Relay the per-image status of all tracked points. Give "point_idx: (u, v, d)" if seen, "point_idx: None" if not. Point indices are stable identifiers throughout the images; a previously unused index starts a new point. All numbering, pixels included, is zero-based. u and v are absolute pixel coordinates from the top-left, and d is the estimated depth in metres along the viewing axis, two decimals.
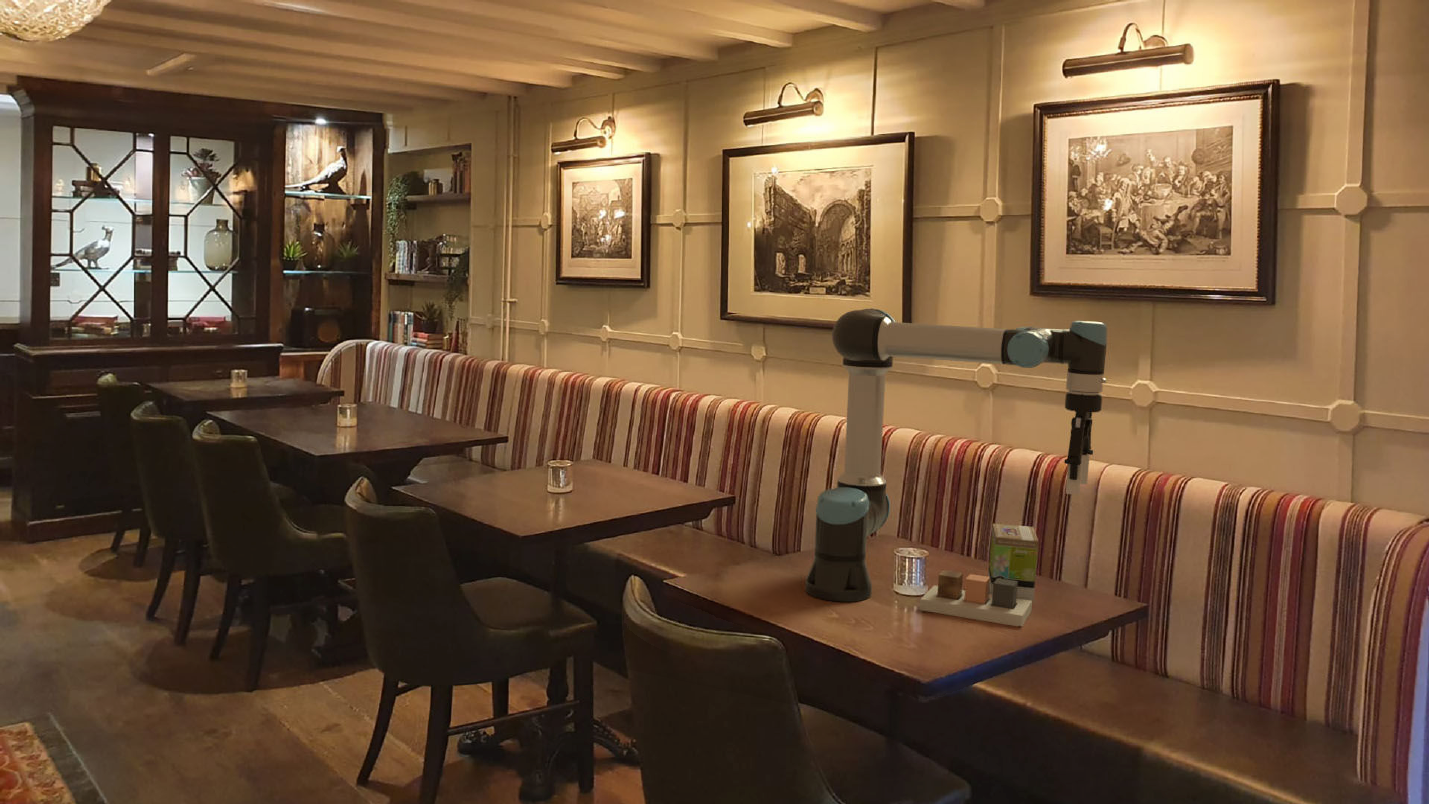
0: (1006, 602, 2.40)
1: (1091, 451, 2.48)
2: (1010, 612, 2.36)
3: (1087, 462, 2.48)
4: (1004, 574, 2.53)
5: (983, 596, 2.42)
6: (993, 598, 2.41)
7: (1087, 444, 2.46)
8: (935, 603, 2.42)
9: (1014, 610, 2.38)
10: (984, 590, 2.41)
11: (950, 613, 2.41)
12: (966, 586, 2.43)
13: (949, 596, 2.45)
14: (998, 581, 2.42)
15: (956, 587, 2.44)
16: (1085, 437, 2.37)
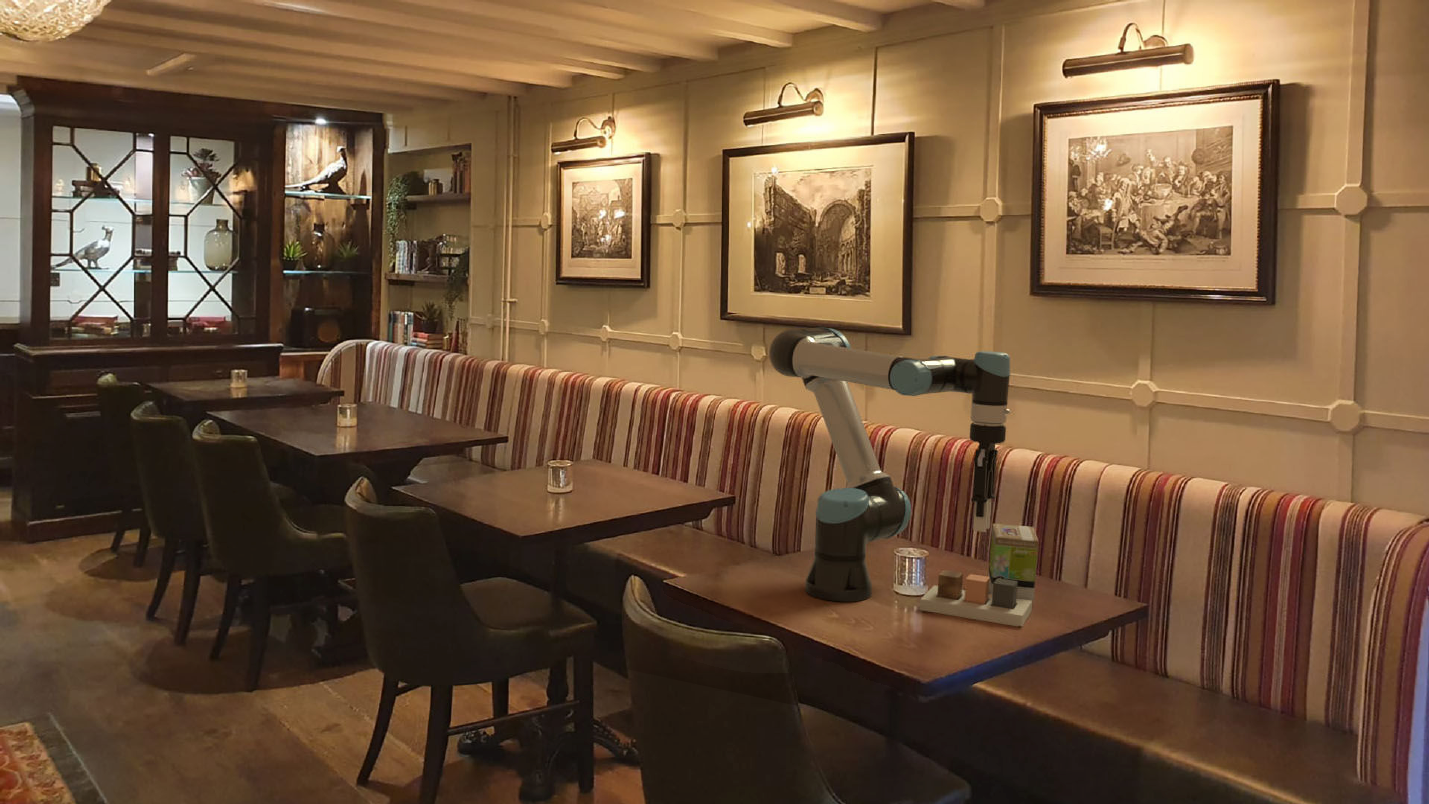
0: (1006, 602, 2.40)
1: (993, 495, 2.44)
2: (1010, 612, 2.36)
3: (989, 506, 2.43)
4: (1004, 574, 2.53)
5: (983, 596, 2.42)
6: (993, 598, 2.41)
7: (990, 482, 2.42)
8: (935, 603, 2.42)
9: (1014, 610, 2.38)
10: (984, 590, 2.41)
11: (950, 613, 2.41)
12: (966, 586, 2.43)
13: (949, 596, 2.45)
14: (998, 581, 2.42)
15: (956, 587, 2.44)
16: (990, 471, 2.39)
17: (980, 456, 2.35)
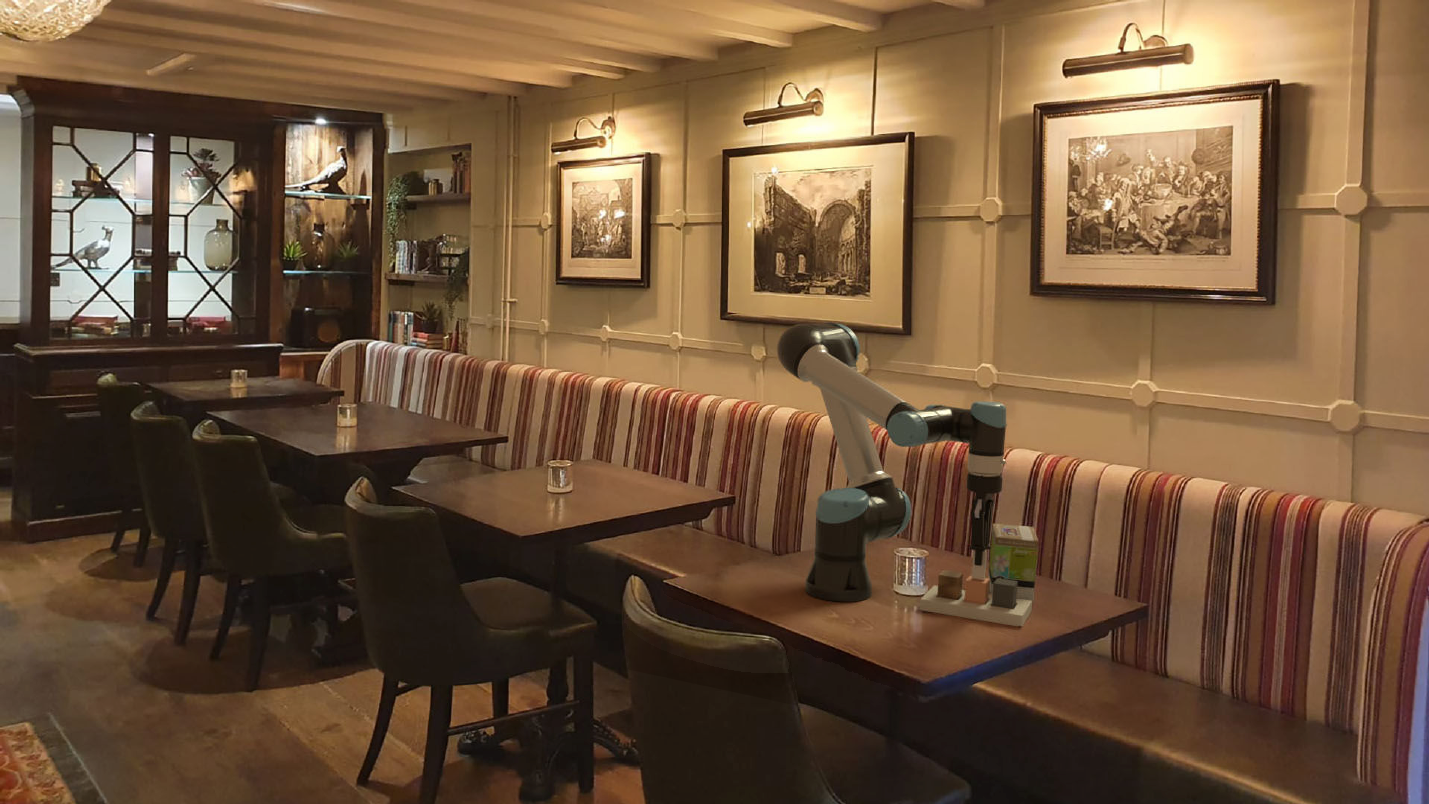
0: (1006, 602, 2.40)
1: (989, 546, 2.44)
2: (1010, 612, 2.36)
3: None
4: (1004, 574, 2.53)
5: (983, 598, 2.42)
6: (993, 598, 2.41)
7: (986, 532, 2.43)
8: (935, 603, 2.42)
9: (1014, 610, 2.38)
10: (984, 592, 2.41)
11: (950, 613, 2.41)
12: (966, 588, 2.43)
13: (949, 596, 2.45)
14: (998, 581, 2.42)
15: (956, 587, 2.44)
16: (987, 520, 2.40)
17: (977, 508, 2.37)
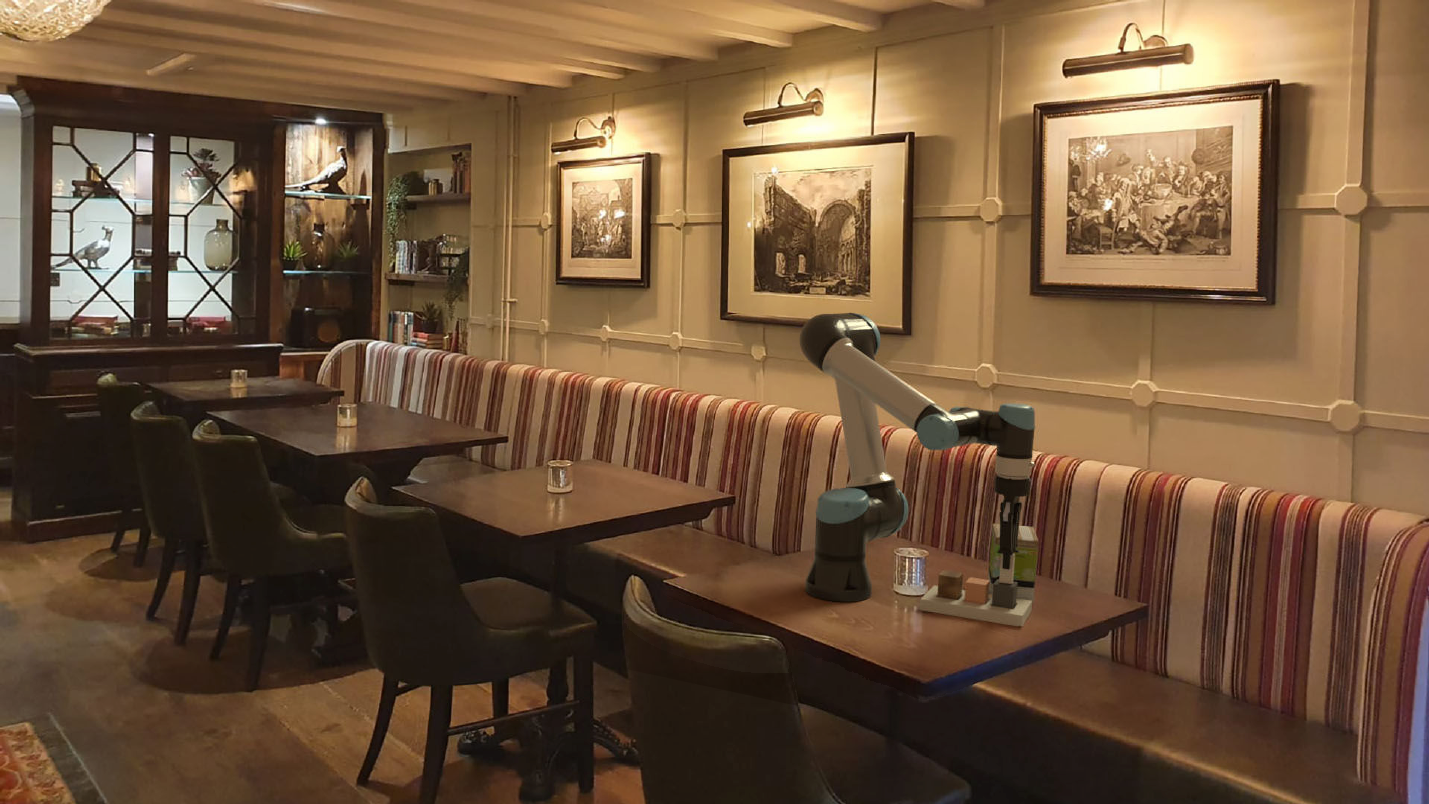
0: (1006, 603, 2.40)
1: (1017, 549, 2.41)
2: (1010, 612, 2.36)
3: None
4: None
5: (983, 599, 2.42)
6: (993, 599, 2.41)
7: (1014, 535, 2.40)
8: (935, 603, 2.42)
9: (1014, 610, 2.38)
10: (984, 593, 2.42)
11: (950, 613, 2.41)
12: (966, 589, 2.43)
13: (949, 596, 2.45)
14: (998, 582, 2.42)
15: (956, 587, 2.44)
16: (1015, 524, 2.38)
17: (1005, 511, 2.34)
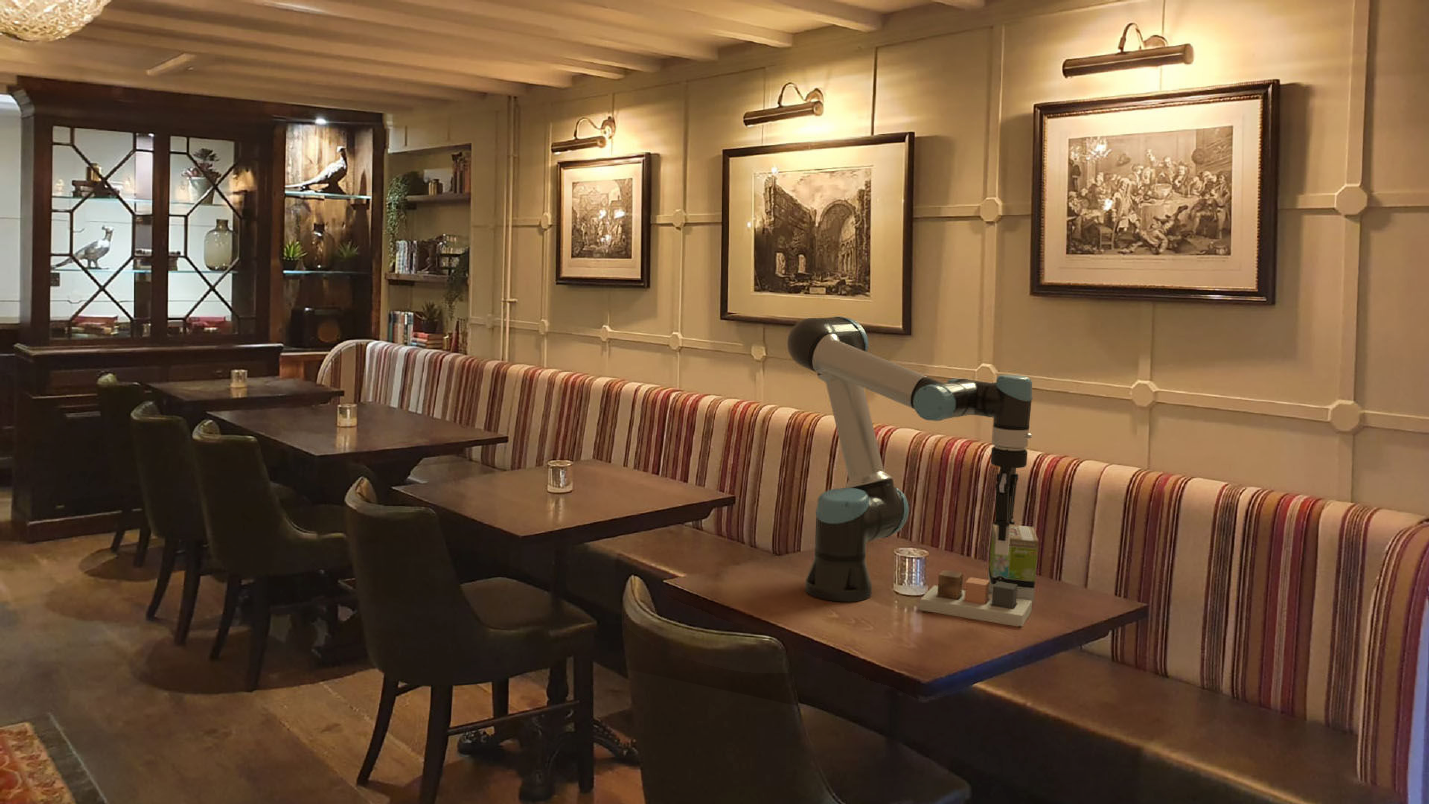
0: (1006, 605, 2.40)
1: (1013, 521, 2.41)
2: (1010, 612, 2.36)
3: None
4: (1004, 574, 2.53)
5: (983, 599, 2.42)
6: (993, 601, 2.41)
7: (1010, 507, 2.40)
8: (935, 603, 2.42)
9: (1014, 610, 2.38)
10: (984, 593, 2.42)
11: (950, 613, 2.41)
12: (966, 589, 2.43)
13: (949, 596, 2.45)
14: (998, 584, 2.42)
15: (956, 587, 2.44)
16: (1011, 495, 2.38)
17: (1002, 482, 2.34)
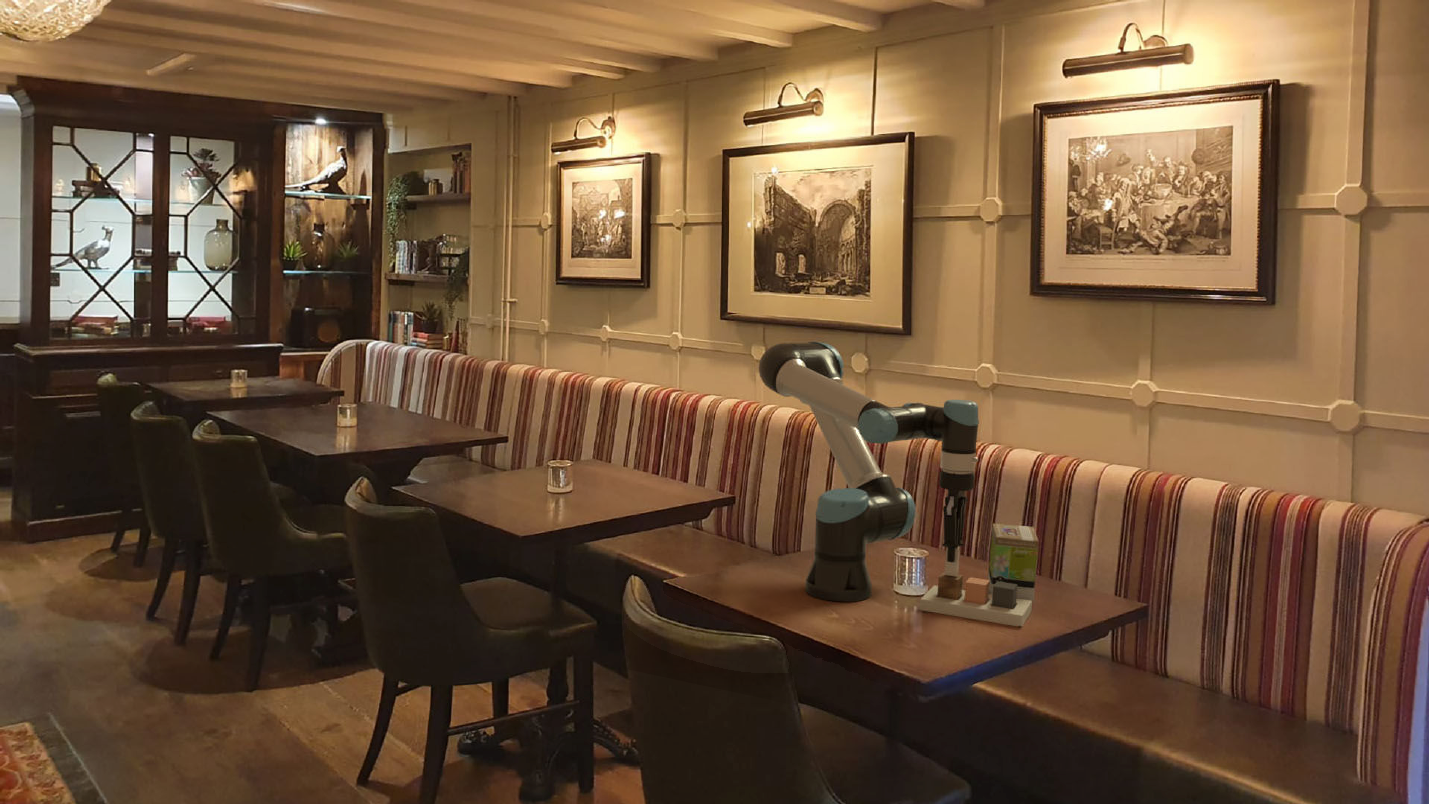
0: (1006, 605, 2.40)
1: (962, 543, 2.46)
2: (1010, 612, 2.36)
3: None
4: (1004, 574, 2.53)
5: (983, 599, 2.42)
6: (993, 601, 2.41)
7: (959, 529, 2.45)
8: (935, 603, 2.42)
9: (1014, 610, 2.38)
10: (984, 593, 2.42)
11: (950, 613, 2.41)
12: (966, 589, 2.43)
13: (949, 598, 2.45)
14: (998, 584, 2.42)
15: (956, 589, 2.44)
16: (959, 517, 2.43)
17: (949, 505, 2.39)
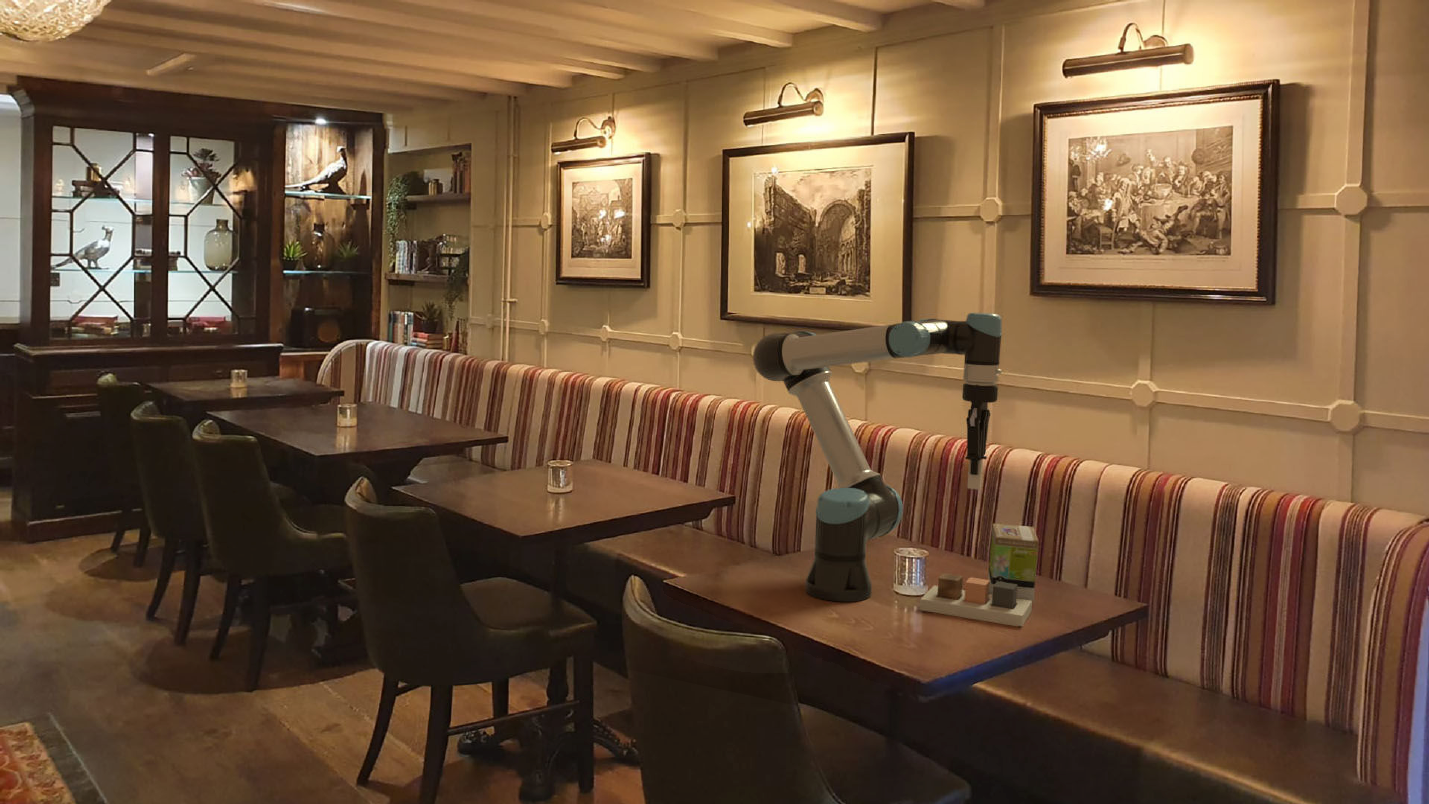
0: (1006, 605, 2.40)
1: (985, 456, 2.47)
2: (1010, 612, 2.36)
3: None
4: (1004, 574, 2.53)
5: (983, 599, 2.42)
6: (993, 601, 2.41)
7: (982, 442, 2.46)
8: (935, 603, 2.42)
9: (1014, 610, 2.38)
10: (984, 593, 2.42)
11: (950, 613, 2.41)
12: (966, 589, 2.43)
13: None
14: (998, 584, 2.42)
15: (956, 590, 2.44)
16: (982, 430, 2.44)
17: (972, 416, 2.40)
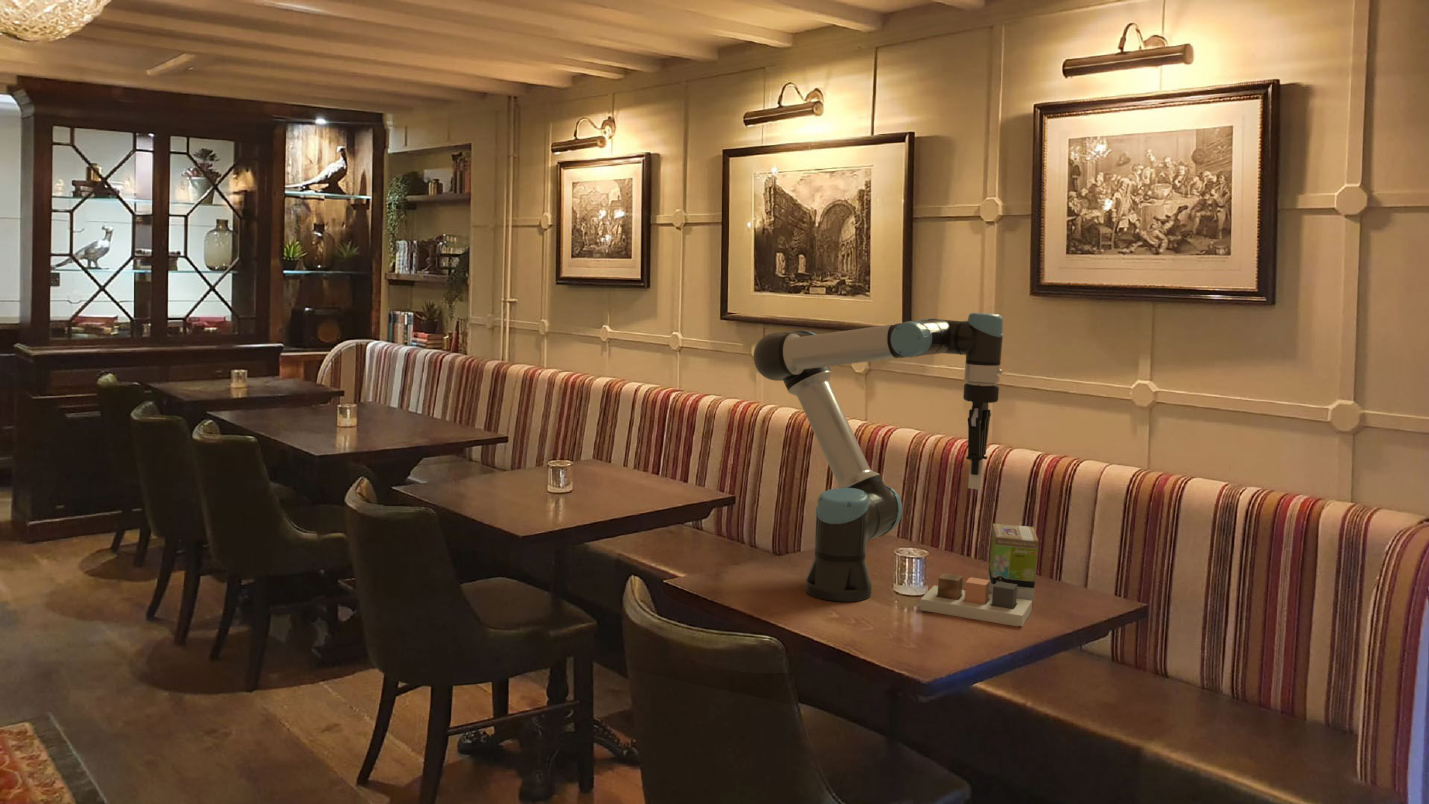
0: (1006, 605, 2.40)
1: (985, 456, 2.47)
2: (1010, 612, 2.36)
3: None
4: (1004, 574, 2.53)
5: (983, 599, 2.42)
6: (993, 601, 2.41)
7: (982, 442, 2.46)
8: (935, 603, 2.42)
9: (1014, 610, 2.38)
10: (984, 593, 2.42)
11: (950, 613, 2.41)
12: (966, 589, 2.43)
13: None
14: (998, 584, 2.42)
15: (956, 590, 2.44)
16: (983, 430, 2.44)
17: (973, 416, 2.40)
